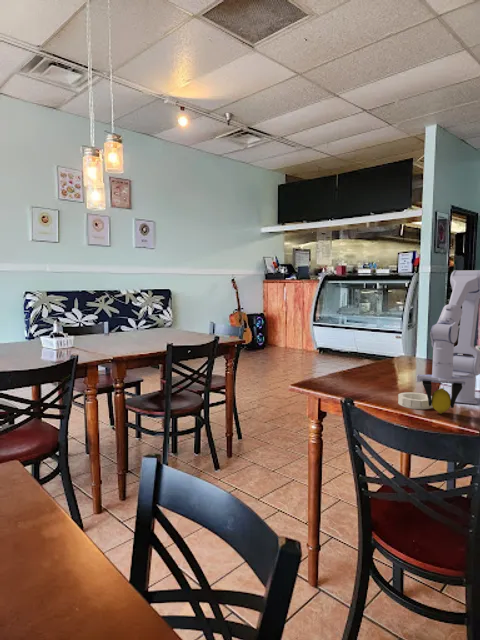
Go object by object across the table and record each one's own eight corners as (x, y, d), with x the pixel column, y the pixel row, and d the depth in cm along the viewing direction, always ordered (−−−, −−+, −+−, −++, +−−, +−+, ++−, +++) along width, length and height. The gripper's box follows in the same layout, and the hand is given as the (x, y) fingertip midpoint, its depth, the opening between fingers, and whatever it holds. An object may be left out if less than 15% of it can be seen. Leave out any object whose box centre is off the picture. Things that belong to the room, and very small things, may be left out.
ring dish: (398, 399, 154) (398, 391, 154) (432, 402, 150) (432, 394, 150) (397, 407, 144) (398, 398, 143) (434, 410, 140) (435, 402, 140)
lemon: (426, 412, 138) (427, 387, 138) (439, 410, 141) (441, 385, 140) (441, 417, 133) (442, 391, 133) (454, 415, 135) (455, 389, 135)
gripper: (417, 363, 134) (416, 407, 135) (471, 366, 129) (468, 411, 130) (417, 359, 141) (415, 401, 142) (467, 362, 136) (465, 405, 137)
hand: (440, 406), depth 137 cm, fingers open, 6 cm apart
